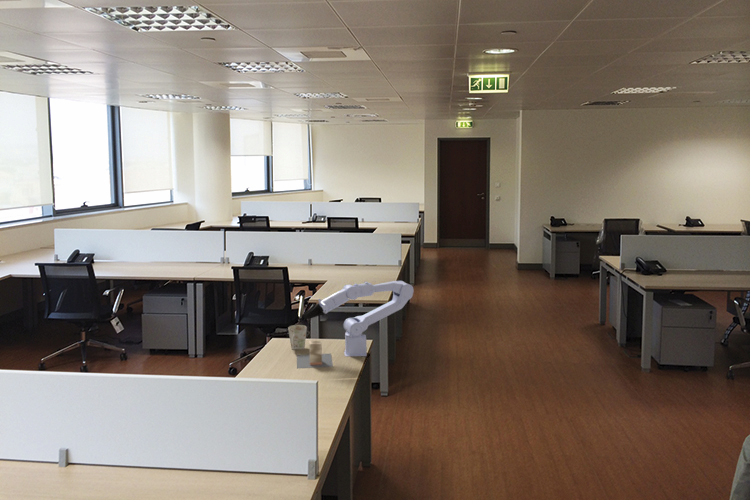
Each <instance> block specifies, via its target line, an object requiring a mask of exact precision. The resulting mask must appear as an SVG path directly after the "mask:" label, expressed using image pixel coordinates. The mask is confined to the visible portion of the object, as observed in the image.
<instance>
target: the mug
mask: <svg viewBox="0 0 750 500" xmlns="http://www.w3.org/2000/svg"><path fill="white" fill-rule="evenodd" d="M287 328H288V329H287V331H288V336H289V341H290V342H289V343H290V349H291V350H294V351H295V350H304V349H305V346H306V338H307V329H308V327H307V326H306V325H303V324H293V325H289V326H288V327H287Z"/></svg>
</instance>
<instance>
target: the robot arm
mask: <svg viewBox="0 0 750 500" xmlns="http://www.w3.org/2000/svg"><path fill="white" fill-rule="evenodd" d="M379 292H380V293H381V292H392V294H393V295H392V299H391V300H390V301H388V302H386V303H384V304H382V305H380V306H378V307H376V308H374V309H373V310H370V311H368V312H367V313H365V314H363V315H357V316H355V317H348V318H346V319H345V320H344V322H343V329H344V330H345V334H344V338H345V339H344V343H345V344H344V345H345V347H344V349H345V350H343V352H344V356H345V357H367V355H368V354H367V349H368V348H367V347H368V346H367V335H366V334H363V333H364V332H365V331H366V330H367V329H368V327H369V326H371V325H373V324H375V323H377V322H378V321H381V320H382V319H384V318H386V317H388V316H391V315H392V314H395V313H396V312H398V311H400V310H402V309H403V308H404V307H405V305H406V304H407V303H408V301H409V300H410V299H412V298H413V295H414V292H415V291H414V287H413V285H412V284H409V283H406V282H405V281H403V280H392V281H391V280H390V281H387V282H382V283H377V284H372V283H371V282H368V281H364V283H354V284H353V285H352V284H345V285H344V286H343V287H342V289H340V290H338V291H336V292H335V293H333V294H331V295H329V296H327V297H325V298H323V299H321V298H318V299H317V300H318V303H317V304H316V303H313V304H312V306H311V307H310V308H309V309H308V310H306V311H305V312H304V313H303V314H302V316H303V318H304V320H310V319H313V318H316V317H320V316H325V314H328V313H329V312H331V311H333V310H334V309H336V308H338V307H339V306H342V305H343V304H345V303H347V302H349V301H350V300H354V301H355V300H357V299H358V298H363V297H369V296H370V297H371V296H373V295H374V293H379Z"/></svg>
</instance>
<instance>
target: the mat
mask: <svg viewBox="0 0 750 500" xmlns="http://www.w3.org/2000/svg"><path fill="white" fill-rule="evenodd" d="M312 368H313V369H315V368H334V364H333V358H332V353H322V365H310V353H309V354H296V369H312Z"/></svg>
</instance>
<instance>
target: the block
mask: <svg viewBox="0 0 750 500" xmlns="http://www.w3.org/2000/svg"><path fill="white" fill-rule="evenodd" d="M308 343H309V354H310V365H322V354H323V351H322V349H323V348H322V345H323V344H322V340H309V341H308Z"/></svg>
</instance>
